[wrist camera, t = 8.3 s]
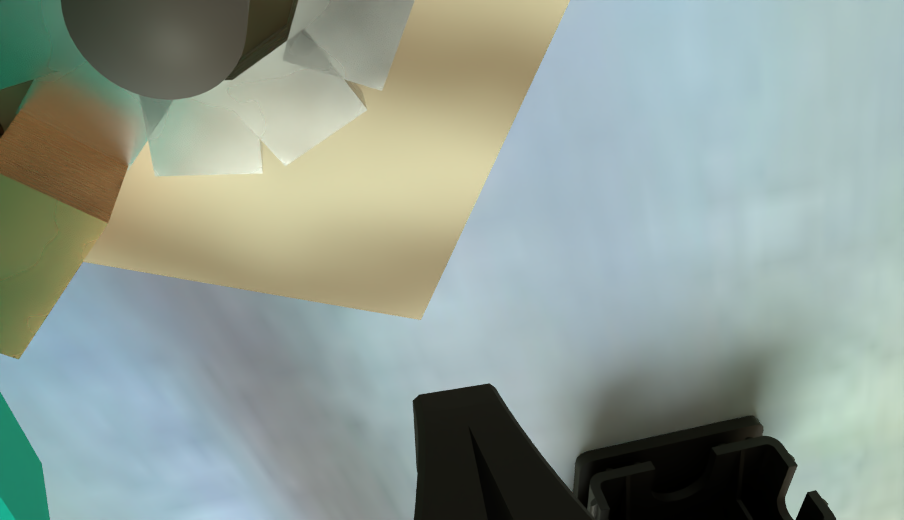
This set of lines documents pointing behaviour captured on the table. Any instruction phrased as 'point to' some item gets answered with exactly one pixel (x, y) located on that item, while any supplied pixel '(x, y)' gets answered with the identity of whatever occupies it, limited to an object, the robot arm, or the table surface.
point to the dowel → (1, 130)
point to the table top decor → (19, 473)
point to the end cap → (694, 477)
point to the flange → (158, 130)
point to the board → (316, 150)
